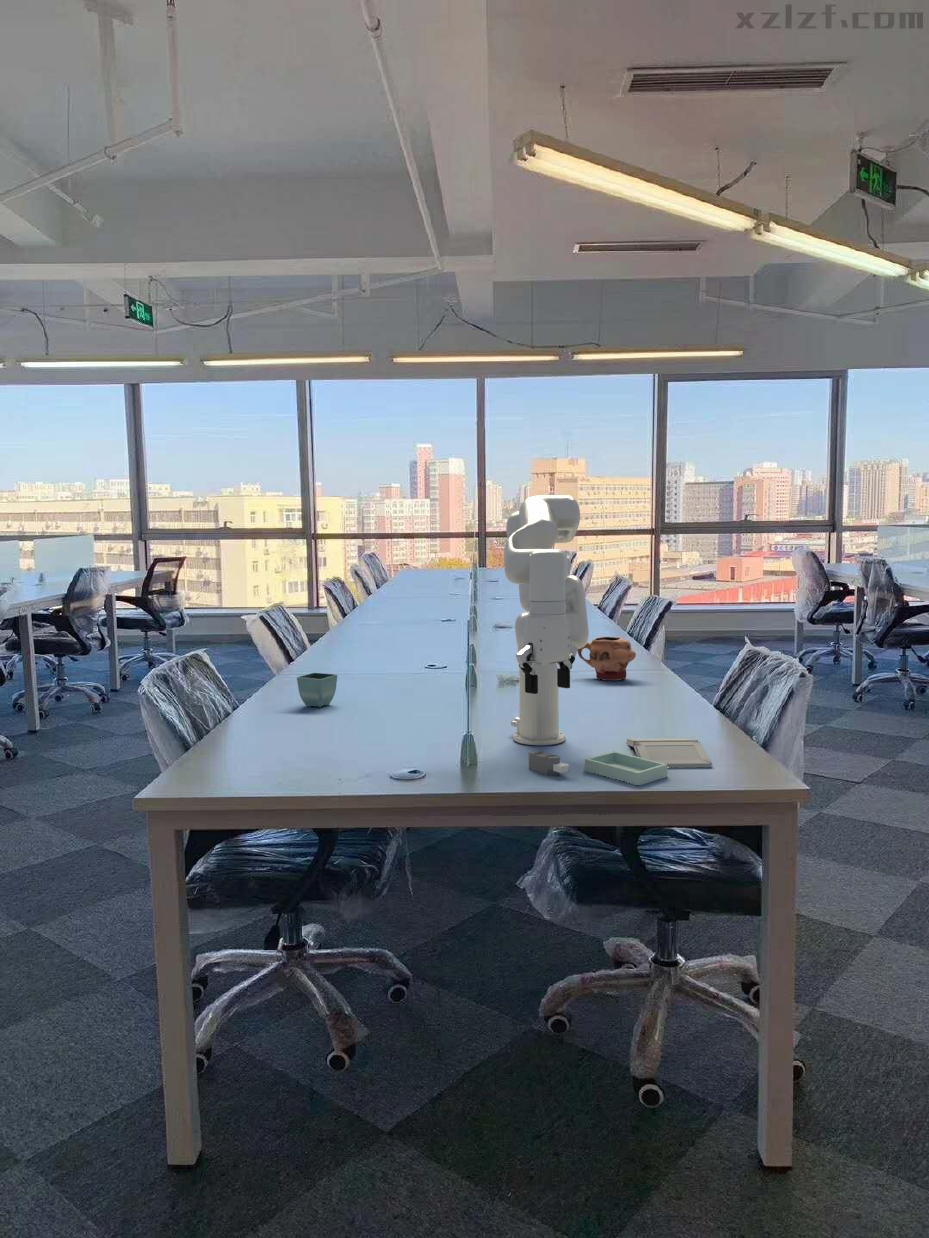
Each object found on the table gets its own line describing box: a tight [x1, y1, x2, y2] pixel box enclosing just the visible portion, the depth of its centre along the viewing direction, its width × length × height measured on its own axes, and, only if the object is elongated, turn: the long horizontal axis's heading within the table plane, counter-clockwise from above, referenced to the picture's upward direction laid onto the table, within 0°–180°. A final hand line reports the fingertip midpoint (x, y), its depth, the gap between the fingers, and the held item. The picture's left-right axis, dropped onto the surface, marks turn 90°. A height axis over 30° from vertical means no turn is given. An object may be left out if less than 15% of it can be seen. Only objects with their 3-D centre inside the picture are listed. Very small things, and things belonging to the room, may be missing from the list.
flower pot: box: [296, 672, 338, 708], centre depth 259 cm, size 9×9×9 cm
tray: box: [584, 751, 668, 786], centre depth 185 cm, size 14×9×3 cm, turn 40°
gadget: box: [626, 737, 713, 769], centre depth 201 cm, size 23×15×4 cm, turn 179°
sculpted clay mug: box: [577, 636, 637, 681], centre depth 295 cm, size 20×12×14 cm, turn 68°
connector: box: [528, 750, 570, 777], centre depth 188 cm, size 10×3×4 cm, turn 40°
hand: (547, 690), depth 187 cm, fingers open, 9 cm apart
